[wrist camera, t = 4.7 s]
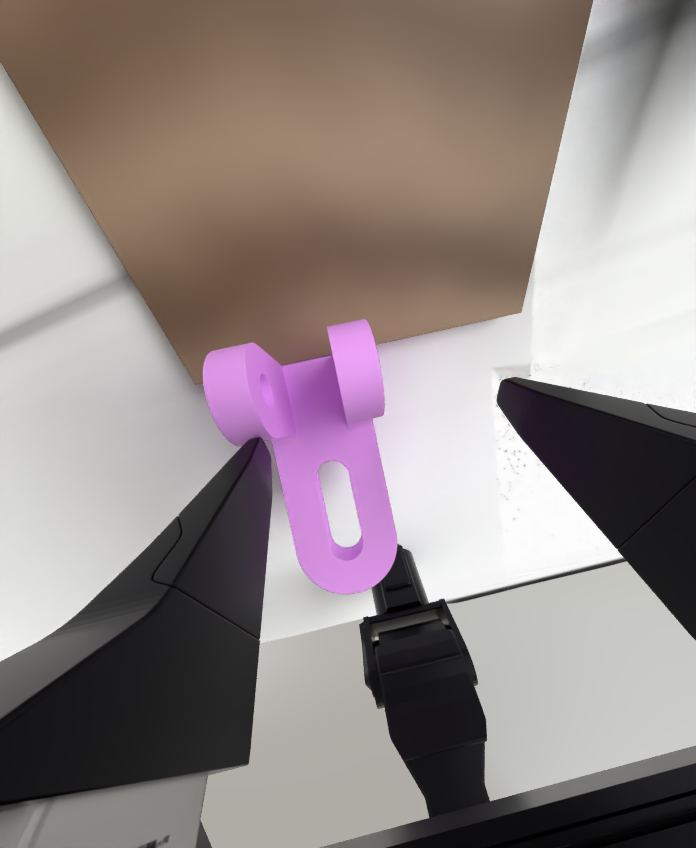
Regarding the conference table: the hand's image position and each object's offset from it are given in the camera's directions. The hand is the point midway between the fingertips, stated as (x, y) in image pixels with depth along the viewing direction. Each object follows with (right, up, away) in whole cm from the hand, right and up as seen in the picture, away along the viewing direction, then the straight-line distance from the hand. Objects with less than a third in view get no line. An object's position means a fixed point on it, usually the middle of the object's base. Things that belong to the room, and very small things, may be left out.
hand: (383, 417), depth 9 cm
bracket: (-2, -3, +6) cm, 7 cm away
